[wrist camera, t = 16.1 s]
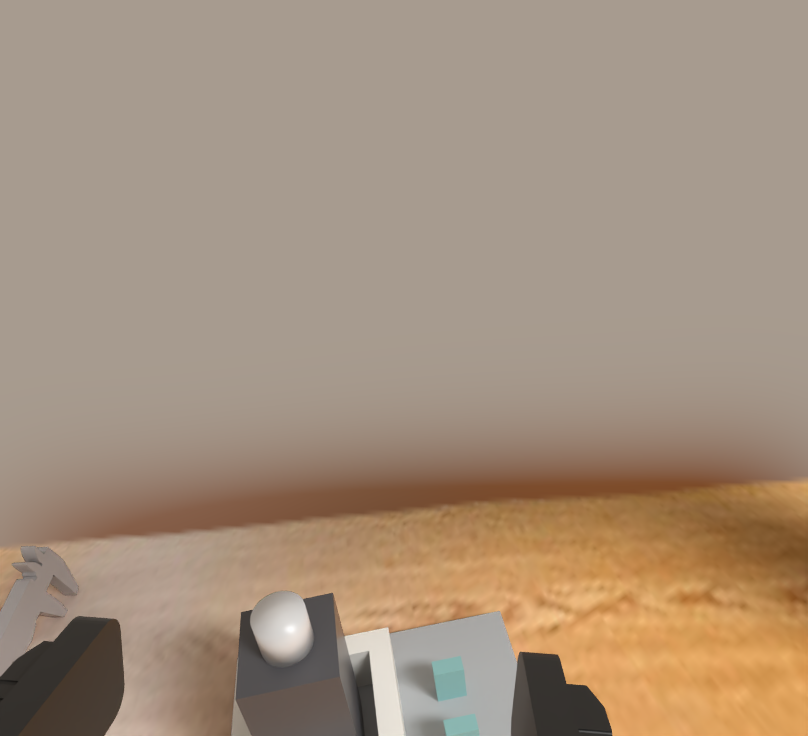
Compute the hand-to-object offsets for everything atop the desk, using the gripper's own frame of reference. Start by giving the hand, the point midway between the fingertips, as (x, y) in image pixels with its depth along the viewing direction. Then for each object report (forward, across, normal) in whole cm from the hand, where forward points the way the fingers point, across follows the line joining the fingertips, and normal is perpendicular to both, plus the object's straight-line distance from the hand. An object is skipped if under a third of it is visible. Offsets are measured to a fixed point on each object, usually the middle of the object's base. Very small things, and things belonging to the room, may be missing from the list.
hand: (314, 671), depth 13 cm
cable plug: (+16, +2, +19) cm, 25 cm away
